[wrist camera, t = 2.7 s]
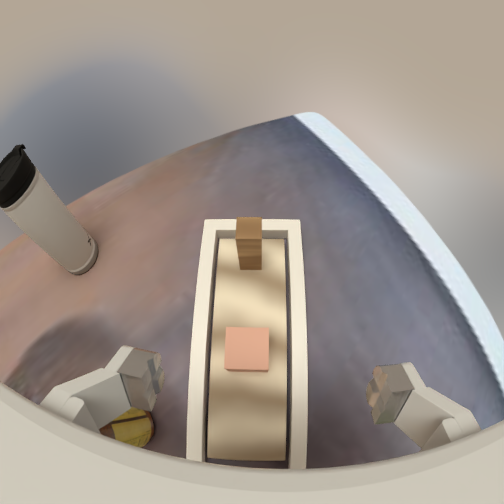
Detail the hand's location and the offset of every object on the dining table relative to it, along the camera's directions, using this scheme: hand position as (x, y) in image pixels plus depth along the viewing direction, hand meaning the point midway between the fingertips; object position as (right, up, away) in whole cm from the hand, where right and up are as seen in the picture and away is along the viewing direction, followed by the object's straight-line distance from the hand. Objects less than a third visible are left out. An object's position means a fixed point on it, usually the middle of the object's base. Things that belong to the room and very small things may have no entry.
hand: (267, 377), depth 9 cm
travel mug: (-26, +4, +27) cm, 37 cm away
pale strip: (-1, -6, +20) cm, 21 cm away
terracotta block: (-1, -6, +18) cm, 19 cm away
